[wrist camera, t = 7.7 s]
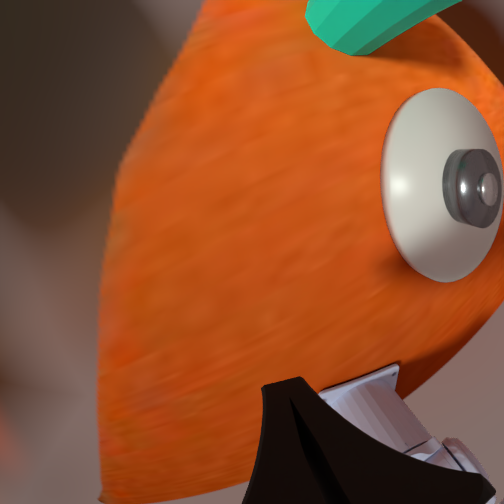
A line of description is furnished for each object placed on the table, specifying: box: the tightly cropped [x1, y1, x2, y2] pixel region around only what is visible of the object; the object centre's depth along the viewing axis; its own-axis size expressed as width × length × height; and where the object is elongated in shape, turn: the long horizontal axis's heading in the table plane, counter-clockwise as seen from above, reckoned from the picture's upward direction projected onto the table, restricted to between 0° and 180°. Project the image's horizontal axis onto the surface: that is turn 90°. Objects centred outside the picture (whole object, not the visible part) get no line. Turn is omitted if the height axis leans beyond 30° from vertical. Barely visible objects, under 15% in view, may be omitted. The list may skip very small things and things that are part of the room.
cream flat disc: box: [380, 88, 504, 282], centre depth 17 cm, size 16×16×1 cm
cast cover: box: [442, 149, 502, 228], centre depth 15 cm, size 6×6×3 cm
